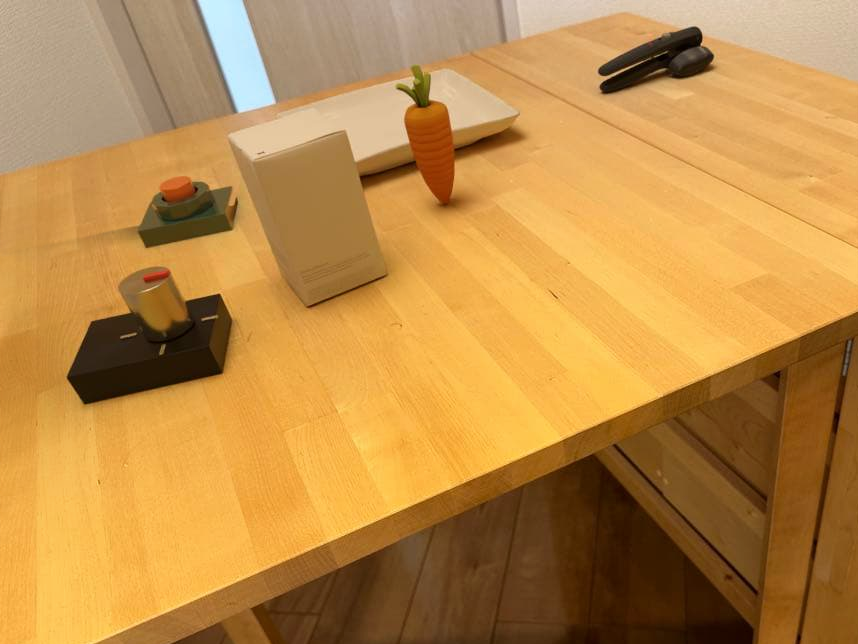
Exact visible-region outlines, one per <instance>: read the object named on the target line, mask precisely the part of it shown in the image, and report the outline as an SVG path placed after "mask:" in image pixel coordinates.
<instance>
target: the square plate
mask: <svg viewBox="0 0 858 644" xmlns="http://www.w3.org/2000/svg"><path fill="white" fill-rule="evenodd" d="M428 73H429V74H430V75H431V83H430V92H429V100H433V101H438V102H442V103H443V104H445V105H446V107H447V109H448V113H449V118H450V124H451V130H452V137H453V143H454V150H456V149H460V148H464V147H467V146H469V145H472V144H474V143H476V142H478V141H480V140H482V138H486V137H490V136H492V135H495V134H499V133H501V132H503V131H505V130H507V129H508V128H510V127H511V126H512V125H513V123H515V122H516V120H517V119H518V117H519V116H520V115H521V111H520V110H519V109H517V108H516V107H514V106H513V105H511V104H510V103H508V102H506V101H505V100H503V99H501V98H500V97H498V96H497V95H495V94H494V93H492V92H491V91H489V90H487V89H486V88H484V87H482V86H481V85H479V84H477V82H475V81H472V79H469V78H468V77H466V76H465V75H463V74H461V73H459V72H457V71H455V69H452V68H442V69H438V70H435V71H430V72H428ZM423 76H424V73H423ZM414 80H415V77H414V75H413V76H409V77H405V78H400V79H395V80H391V81H387V82H383V83H379V84H375V85H371V86H367V87H362V88H359V89H355V90H352V91H347V92H344V93H341V94H337V95H334V96H331V97H328V98H325V99H321V100H318V101H314V102H311V103H308V104H305V105H302V106H298V107H295V108H291V109H288V110H285V111H284V110H283V111H282V112H278V113H277V114H276V115H275V119H279V118H283V117H286V116H288V115H291V114H294V113H297V112H300V111H304V110H308V109H311V108H314V109H315V110H317V111H318V112H320V113H321V114H322V115H324V116H325V117H327V118H328V119H330V120H331V121H333V122H334V123H335V124H337V125H338V126H340V127H341V128H343V129H344V130H346V133H347V136H348V139H349V143H350V146H351V150H352V153H353V156H354V160H355V163H356V167H357V170H358V174H359V177H361V176H368V175H373V174H377V173H380V172H384V171H387V170H390V169H394V168H397V167H400V166H403V165H407V164H410V163H413V162H416V161H415V159H414V155H413V152H412V149H411V145H410V142H409V138H408V135H407V131H406V127H405V123H404V116H405V113H406V110H407V108H408V107H409V106H411V105H413V104H415V102H414V100H413V99H412V98H411V97H410V96H409V95H408V94H406V93H405V92H403V91H400V90H397V89H396V85H397V84H398V83H400V84H404V85H407V86H408V87H409V88H410V89H411V90H412V88H413V86H414V84H413V81H414Z"/></svg>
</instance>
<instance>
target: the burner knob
mask: <svg viewBox="0 0 858 644" xmlns="http://www.w3.org/2000/svg"><path fill="white" fill-rule="evenodd" d="M117 291H118V292H119V294H120V296H121V298H122V299H123V302H124V304H125V305H126V307H127V309H128V310H129V313H131V314H132V315H133V317H134V319H135V321H136V323H137V324H138V326H139V328H140V330H141V331H142V333H143V335H144V337H145V338H146V339H147V340H149V341H153V342H161V341H166V340H170V339H173V338H176V337H178V336H180V335H182V334H183V333H185V332H186V331H188V330H189V329H190V328H191V327H192V325H193V323H194V317H193V315H192V313H191V311H190V309H189V307H188V305H187V303H186V301H187V300H186V299H185V297H184V294H183V293H182V291H181V290H180V288H179V285H178V284H177V281H176V279H175V278H174V275H173V274H172V271H171V269H170V268H167V267H166V266H149V267H146V268H142V269H140V270H137V271H134V272H132V273H131V274H129V275H127V276H126V277H125V278H123V279H122V280H121V281H120V282H119V283H118V286H117Z"/></svg>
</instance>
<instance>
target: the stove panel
mask: <svg viewBox="0 0 858 644" xmlns="http://www.w3.org/2000/svg"><path fill="white" fill-rule="evenodd" d="M185 301H186V303H187V305H188V307H189V309H190V311H191V313H192V315H193V317H194V323H193V325H192V327H191V328H190V329H189V330H188V331H186V332H185V333H183V334H182V335H180V336H178V337H176V338H173V339H170V340H166V341H161V342H153V341H149V340H147V339H146V338H145V337H144V335H143V333H142V331H141V330H140V328H139V326H138V324H137V323H136V321H135V319H134V317H133V315H132V314H131V312H127V313H123V314H117V315H114V316H113V315H112V316H110V317H105V318H99V319H96V320H91V321H90V324H89V326H88V327H87V330H86V333H85V335H84V336H83V339H82V341H81V343H80V346H79V348H78V350H77V352H76V355H75V357H74V359H73V361H72V363H71V365H70V368H69V371H68V373H67V375H66V380H67V381H68V383H69V384H70V386H71V387H72V389H73V390H74V391H75V393H76V395H77V396H78V398H79V399H80V400H81V402H82V403H83V405H86V404H90V403H95V402H100V401H105V400H108V399H112V398H118V397H121V396H126V395H131V394H136V393H140V392H143V391H149V390H152V389H157V388H163V387H166V386H171V385H175V384H176V385H177V384H180V383H185V382H189V381H193V380H197V379H201V378H202V379H203V378H207V377H211V376H216V375H220V374H223V371H224V365H225V361H226V360H225V359H226V356H227V355H226V354H227V349H228V343H229V338H230V332H231V327H232V321H233V318H232V316H231V314H230V311H229V310H228V307H227V305H226V302H225V301H224V298H223V297H222V294H221V293H215V294H212V295H211V294H210V295H206V296H202V297H197V298H193V299H188V300H185Z"/></svg>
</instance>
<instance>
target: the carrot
mask: <svg viewBox="0 0 858 644" xmlns="http://www.w3.org/2000/svg"><path fill="white" fill-rule="evenodd" d="M410 70H411V72H412V75H413V76H414V77H415V80H414V81H413V84H414V86H413V88H412V90H411V89H410V88H409V87H408V86H407V85H404V84H400V83H398V84H397V85H396V89H397V90H400V91H403V92H405V93H406V94H408V95H409V96H410V97H411V98H412V99H413V100H414V102H415V104H413V105H411V106H409V107H408V108H407V110H406V113H405V116H404V123H405V127H406V131H407V135H408V138H409V142H410V145H411V149H412V152H413V155H414V159H415V161H414V162H415V163H416V165H417V168H418V170H419V172H420V175H421V177H422V179H423V181H424V182H425V185H426V186H427V188H428V189H429V191H430V192H431V193H432V194H433V196H434V197H435V198H436V200H438V201H439V202H440V203H441V204H443V205H448V203H449V202H450V200H451V197H452V193H453V189H454V182H455V173H456V172H455V170H456V169H455V167H456V166H455V164H456V163H455V149H454V143H453V137H452V130H451V124H450V118H449V113H448V109H447V107H446V105H445V104H443V103H442V102H438V101H433V100H429V92H430V83H431V75H430V74H429V73H430V72H428V71H425V72H424V73H423V71H422V69H421V66H420V65H418V64H413V65H412V66H411V67H410ZM423 74H424V76H423Z"/></svg>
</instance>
